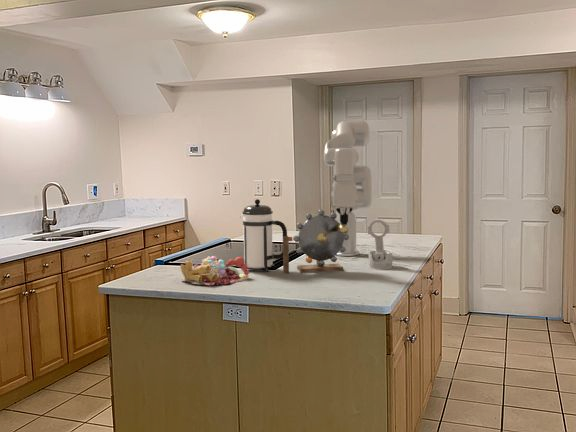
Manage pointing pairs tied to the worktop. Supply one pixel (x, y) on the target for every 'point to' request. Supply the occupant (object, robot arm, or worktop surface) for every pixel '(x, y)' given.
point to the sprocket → (321, 237)
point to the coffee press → (259, 236)
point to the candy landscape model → (214, 271)
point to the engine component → (379, 249)
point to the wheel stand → (305, 267)
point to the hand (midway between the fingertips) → (344, 224)
